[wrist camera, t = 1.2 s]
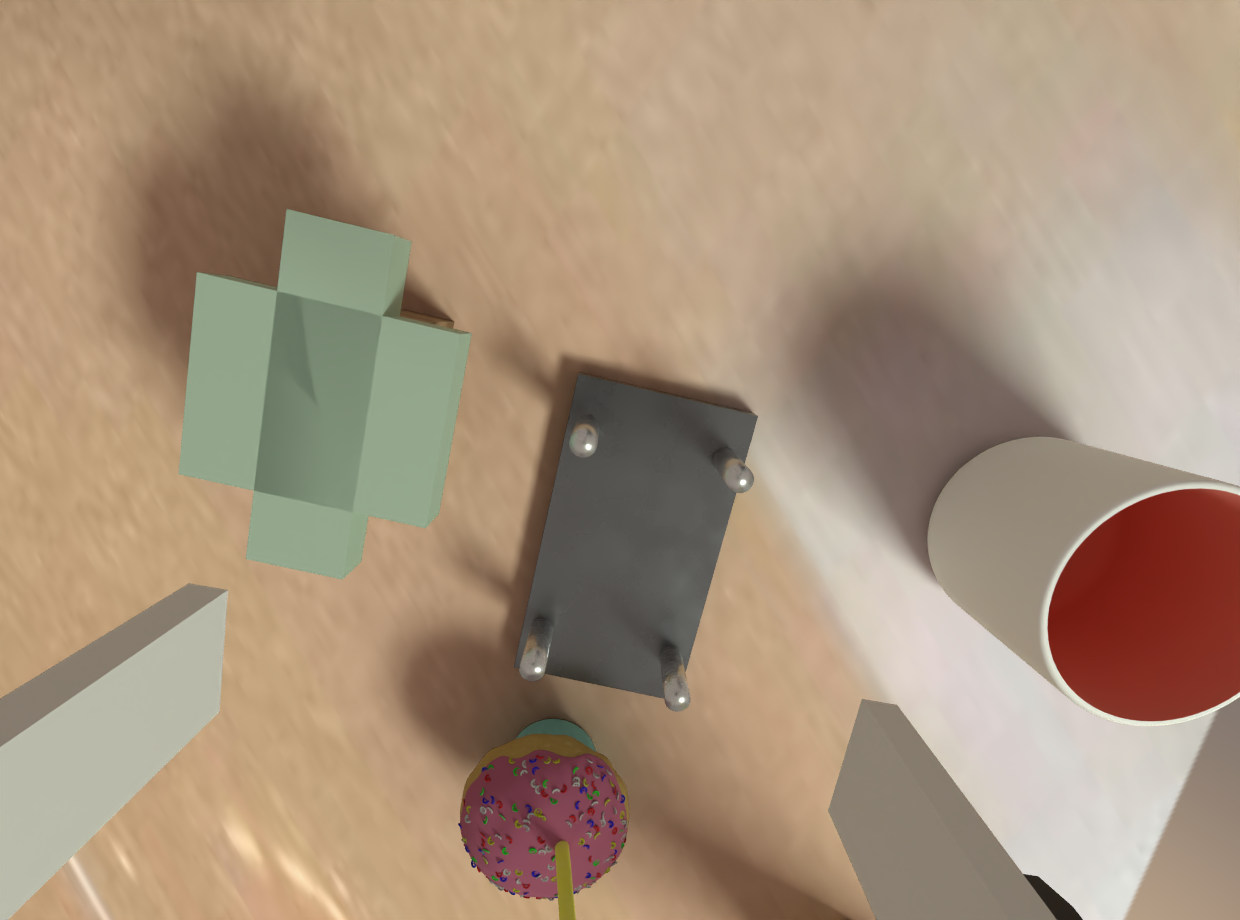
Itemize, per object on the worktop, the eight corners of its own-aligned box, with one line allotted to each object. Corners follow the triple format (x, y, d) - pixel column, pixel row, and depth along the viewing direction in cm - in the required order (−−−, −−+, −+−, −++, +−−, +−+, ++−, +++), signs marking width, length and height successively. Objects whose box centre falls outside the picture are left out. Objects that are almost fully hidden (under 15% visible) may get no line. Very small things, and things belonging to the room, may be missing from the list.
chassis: (579, 372, 32) (572, 381, 27) (753, 413, 32) (778, 429, 27) (517, 657, 35) (500, 712, 30) (675, 690, 36) (684, 749, 31)
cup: (902, 460, 33) (1023, 519, 23) (1097, 410, 32) (1305, 449, 23) (932, 632, 35) (1055, 753, 25) (1116, 587, 34) (1314, 694, 25)
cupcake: (590, 667, 35) (577, 840, 23) (652, 788, 37) (669, 1006, 25) (452, 724, 36) (372, 920, 24) (519, 841, 38) (475, 1076, 26)
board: (236, 198, 25) (204, 188, 23) (485, 259, 26) (474, 254, 24) (203, 527, 28) (172, 543, 26) (427, 575, 29) (413, 594, 27)
